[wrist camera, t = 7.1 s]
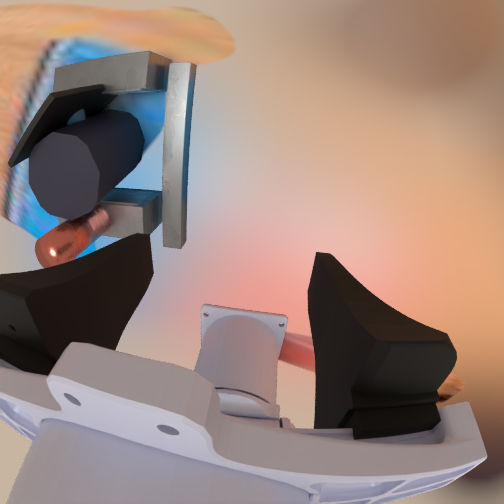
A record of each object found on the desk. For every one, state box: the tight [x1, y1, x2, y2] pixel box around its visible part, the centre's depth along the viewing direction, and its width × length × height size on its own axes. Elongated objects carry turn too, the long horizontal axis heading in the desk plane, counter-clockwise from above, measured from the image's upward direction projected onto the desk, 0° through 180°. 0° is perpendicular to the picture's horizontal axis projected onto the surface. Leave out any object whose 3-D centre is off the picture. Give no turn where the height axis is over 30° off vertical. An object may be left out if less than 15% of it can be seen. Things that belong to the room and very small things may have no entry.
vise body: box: [53, 51, 196, 249], centre depth 19 cm, size 14×12×4 cm
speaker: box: [8, 84, 145, 221], centre depth 16 cm, size 8×6×10 cm
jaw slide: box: [35, 188, 163, 268], centre depth 18 cm, size 3×8×10 cm, turn 84°
